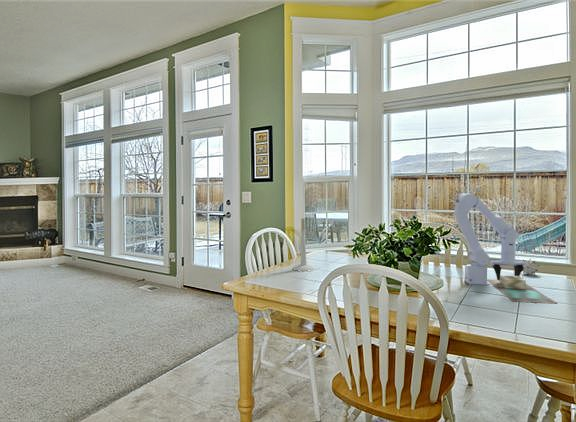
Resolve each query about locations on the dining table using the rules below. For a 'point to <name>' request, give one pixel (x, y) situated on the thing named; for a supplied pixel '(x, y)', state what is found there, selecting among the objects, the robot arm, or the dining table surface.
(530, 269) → the game die
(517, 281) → the birch block
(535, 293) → the shallow brown tray
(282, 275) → the dining table surface
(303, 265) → the candlestick
